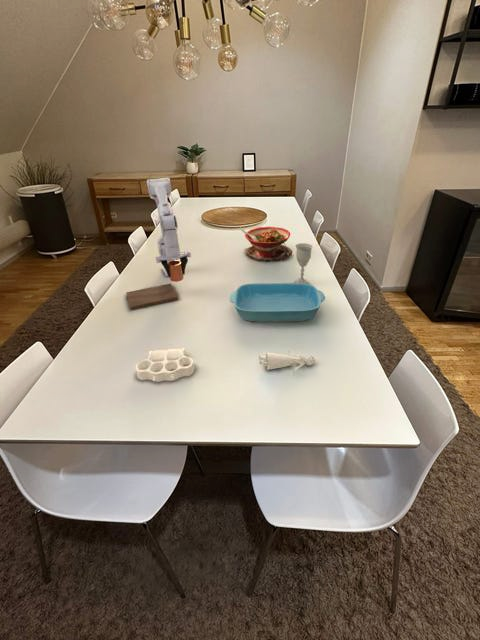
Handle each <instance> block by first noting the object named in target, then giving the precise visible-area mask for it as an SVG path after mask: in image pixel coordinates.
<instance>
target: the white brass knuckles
mask: <svg viewBox="0 0 480 640" xmlns="http://www.w3.org/2000/svg"><path fill="white" fill-rule="evenodd" d="M134 368H135V373H136V376H137V378H138V379H139V380H141V381H147V380H149V381H152V382H154V383H155V382H156V383H160V382H163V381H168V382H173V381H177V380H178V379H180V378H182V377H190V376H192V375H193V374H194V372H195V363H194V359H193V358H192V357H190V356H186V348H184V347H182V348H174V349H173V348H172V349H171V348H170V349H168V348H167V349H158V350H149V352H148V357H146V359H143V360H140V361H139V362H137V363H136V365H135V367H134Z"/></svg>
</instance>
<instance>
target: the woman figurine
mask: <svg viewBox="0 0 480 640" xmlns="http://www.w3.org/2000/svg"><path fill="white" fill-rule="evenodd" d="M285 352H286V353H288V354H291V355H292V356H289V355H285V354H281V353H275V352H274V353H273V352H266V353H265V357H261V354H260V355H258V360H259V361H258V362H259V363H258V365H262V366H265V367H266V369H267V370H268V371H269V370H274V369H281V368H285V367H288V366H291V365H293V364H298V366H296V368H294V369H292V370H291V374H294V373H295V372H296V371H298V370H299V369H300V368H301V367H303V366H305V364H306V365H307V366H312V365H314V364H315V362H316V359H315V356H312V355H311V356H307V357H306V358H305V357H304V356H302V355H297V354H295V353H293V352H291V351H290V350H288V349H285Z"/></svg>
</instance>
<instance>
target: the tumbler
mask: <svg viewBox="0 0 480 640" xmlns="http://www.w3.org/2000/svg"><path fill="white" fill-rule="evenodd" d="M168 265H169V273H170V277H169V280H170V281H171V282H174V283H175V282H176V283H178V282H181V281H183V280H184V275H183V271H182V263H181V261H180V259H178V260H173V261H170V262H168Z"/></svg>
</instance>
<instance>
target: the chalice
mask: <svg viewBox="0 0 480 640" xmlns="http://www.w3.org/2000/svg"><path fill="white" fill-rule="evenodd" d="M313 247H314V246H313V245H312V244H310V243H306V242H305V243H303V242H302V243H297V244H295V249H296V250H295V251H296V253H295V258H296V261H297V263H298V265H299V267H300V268H301V269H300V273H299V275H300V277H299V278H298V279H297V280H296V282H295V283H304V284H308V283H307V280H306V279H305V278H304V275H305V273H304V272H305V267H306V266H307V265H308V264H309V262H310V260H311V258H312V249H313Z"/></svg>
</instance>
